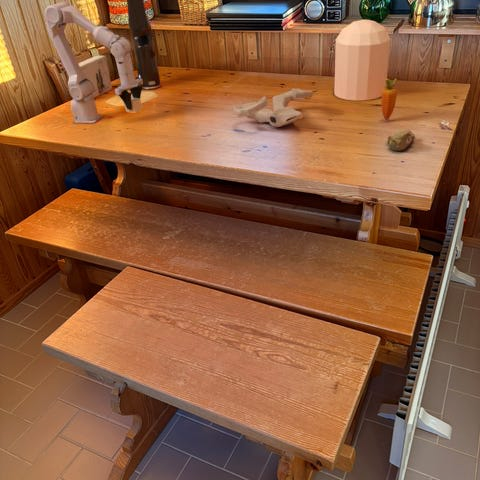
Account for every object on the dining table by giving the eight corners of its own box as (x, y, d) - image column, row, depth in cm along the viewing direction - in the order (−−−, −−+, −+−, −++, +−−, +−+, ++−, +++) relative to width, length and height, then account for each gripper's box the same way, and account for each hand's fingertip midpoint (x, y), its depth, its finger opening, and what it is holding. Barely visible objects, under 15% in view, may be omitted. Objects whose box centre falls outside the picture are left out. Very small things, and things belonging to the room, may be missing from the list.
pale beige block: (126, 111, 186) (123, 100, 184) (133, 108, 190) (131, 97, 187) (135, 112, 184) (132, 101, 182) (142, 109, 188) (140, 98, 185)
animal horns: (230, 133, 167) (227, 101, 161) (244, 110, 188) (241, 81, 182) (308, 133, 161) (308, 99, 155) (313, 109, 182) (314, 78, 176)
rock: (408, 140, 153) (379, 139, 152) (414, 122, 149) (384, 120, 148) (421, 154, 144) (391, 153, 143) (428, 135, 140) (396, 133, 139)
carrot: (394, 118, 167) (398, 76, 158) (393, 123, 163) (397, 80, 154) (379, 117, 168) (383, 75, 160) (378, 122, 165) (382, 80, 156)
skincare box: (87, 102, 214) (77, 67, 204) (78, 102, 215) (68, 66, 206) (113, 88, 229) (105, 54, 220) (104, 88, 231) (96, 54, 222)
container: (354, 104, 182) (359, 27, 166) (324, 91, 198) (325, 20, 182) (396, 93, 189) (404, 18, 173) (363, 81, 205) (368, 12, 189)
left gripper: (121, 78, 172) (129, 114, 179) (145, 67, 182) (152, 102, 189) (107, 77, 175) (115, 112, 182) (131, 67, 185) (138, 100, 192)
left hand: (133, 107), depth 186 cm, fingers closed on pale beige block, 4 cm apart
